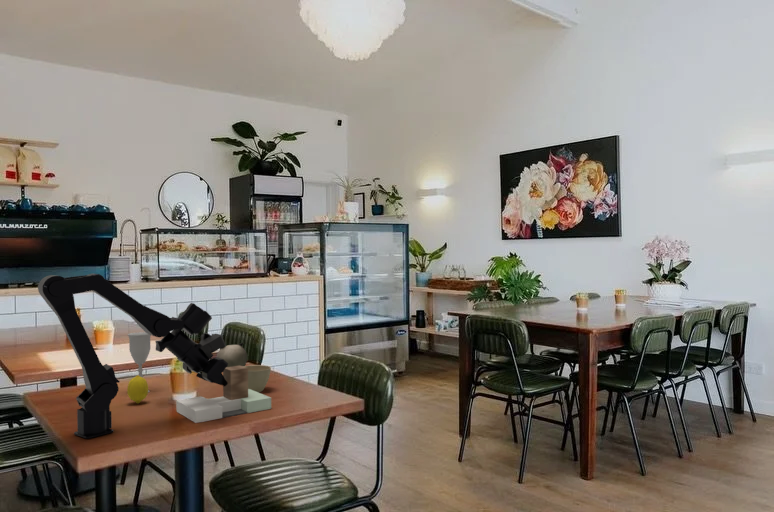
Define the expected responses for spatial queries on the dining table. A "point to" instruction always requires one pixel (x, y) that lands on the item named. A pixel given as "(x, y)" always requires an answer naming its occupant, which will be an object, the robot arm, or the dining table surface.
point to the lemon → (137, 389)
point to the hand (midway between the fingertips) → (226, 384)
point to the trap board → (221, 406)
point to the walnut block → (235, 382)
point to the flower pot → (258, 377)
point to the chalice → (139, 348)
